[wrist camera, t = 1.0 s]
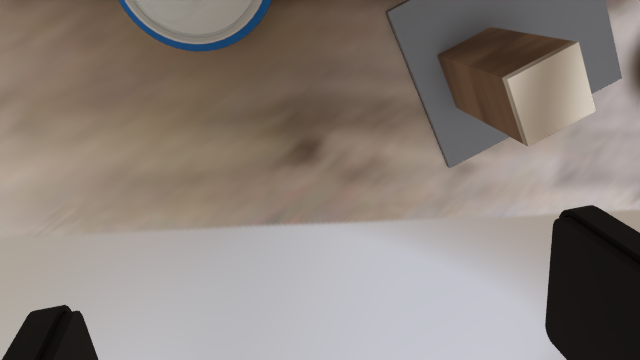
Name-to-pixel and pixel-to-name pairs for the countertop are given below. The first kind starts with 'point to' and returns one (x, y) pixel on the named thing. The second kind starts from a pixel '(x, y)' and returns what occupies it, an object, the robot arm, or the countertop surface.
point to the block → (519, 82)
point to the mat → (474, 17)
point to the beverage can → (196, 21)
